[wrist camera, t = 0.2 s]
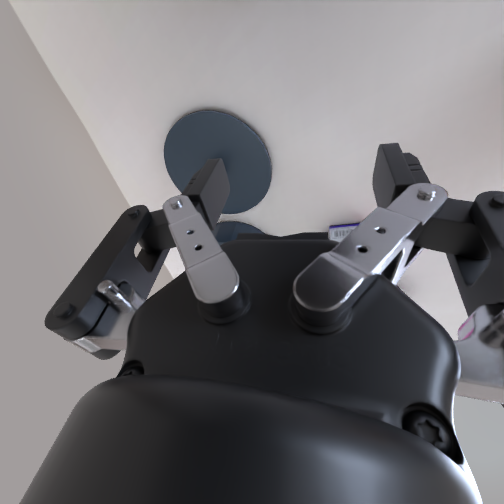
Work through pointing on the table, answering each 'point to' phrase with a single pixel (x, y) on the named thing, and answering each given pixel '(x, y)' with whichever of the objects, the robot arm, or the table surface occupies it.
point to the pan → (231, 231)
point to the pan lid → (219, 156)
